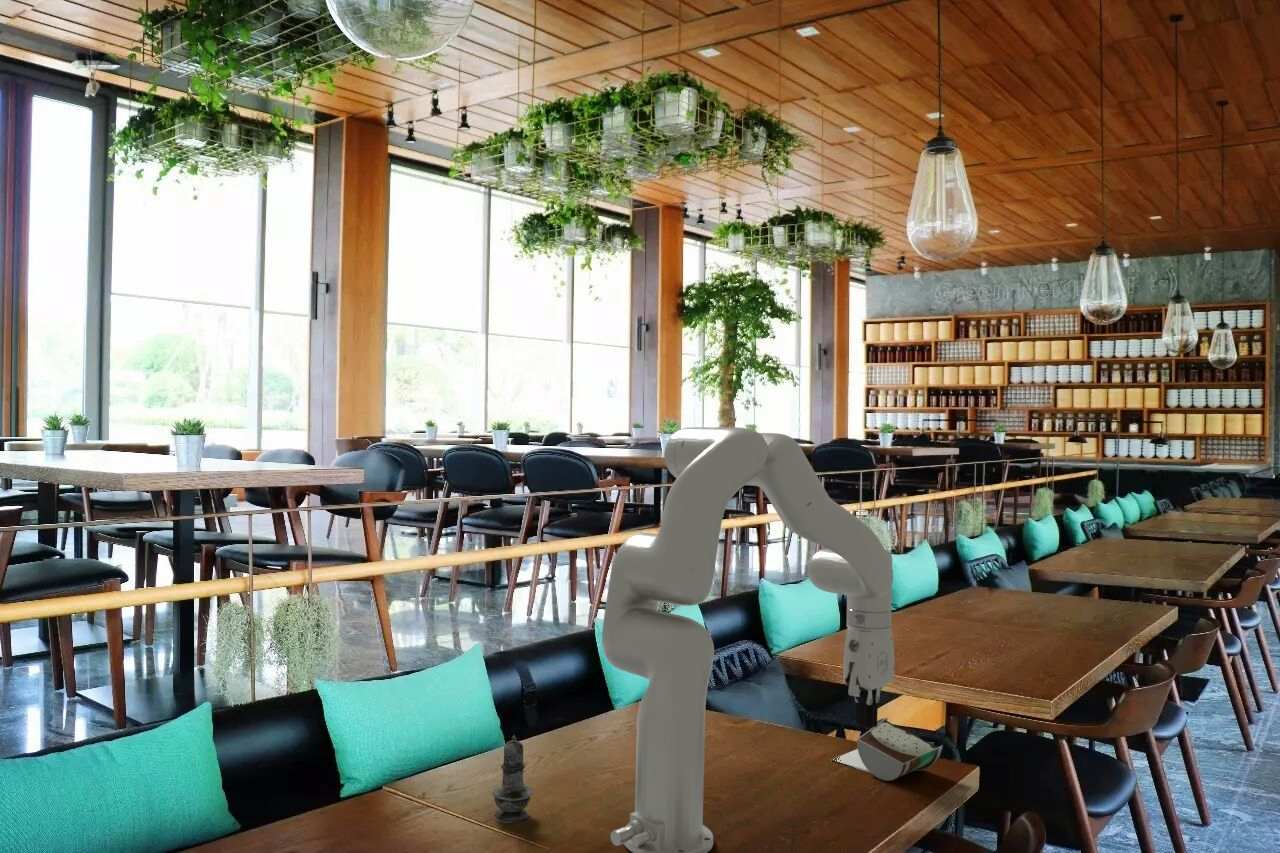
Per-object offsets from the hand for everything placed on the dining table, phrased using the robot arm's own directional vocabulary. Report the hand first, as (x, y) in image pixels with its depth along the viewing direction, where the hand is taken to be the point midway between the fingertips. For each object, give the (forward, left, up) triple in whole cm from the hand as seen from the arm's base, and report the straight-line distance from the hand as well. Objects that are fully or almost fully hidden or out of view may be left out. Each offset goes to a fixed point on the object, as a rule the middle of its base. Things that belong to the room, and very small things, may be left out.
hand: (866, 725), depth 163 cm
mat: (+4, +1, -8) cm, 9 cm away
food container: (-2, -4, -6) cm, 7 cm away
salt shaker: (-57, +26, -8) cm, 63 cm away
